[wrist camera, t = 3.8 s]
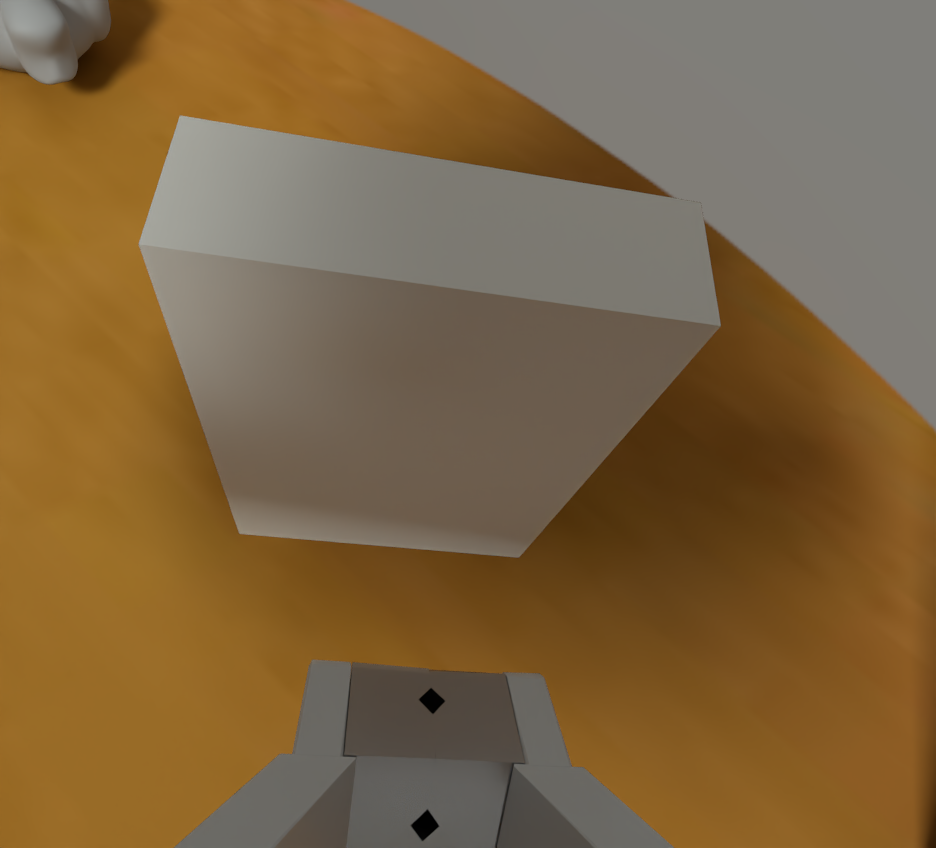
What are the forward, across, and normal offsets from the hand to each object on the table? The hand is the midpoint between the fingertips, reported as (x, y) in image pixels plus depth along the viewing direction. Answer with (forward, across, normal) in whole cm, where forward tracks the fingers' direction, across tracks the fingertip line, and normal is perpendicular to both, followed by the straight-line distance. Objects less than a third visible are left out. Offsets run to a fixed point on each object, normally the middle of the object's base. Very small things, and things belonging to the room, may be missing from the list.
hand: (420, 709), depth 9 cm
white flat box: (+11, 0, +2) cm, 12 cm away
